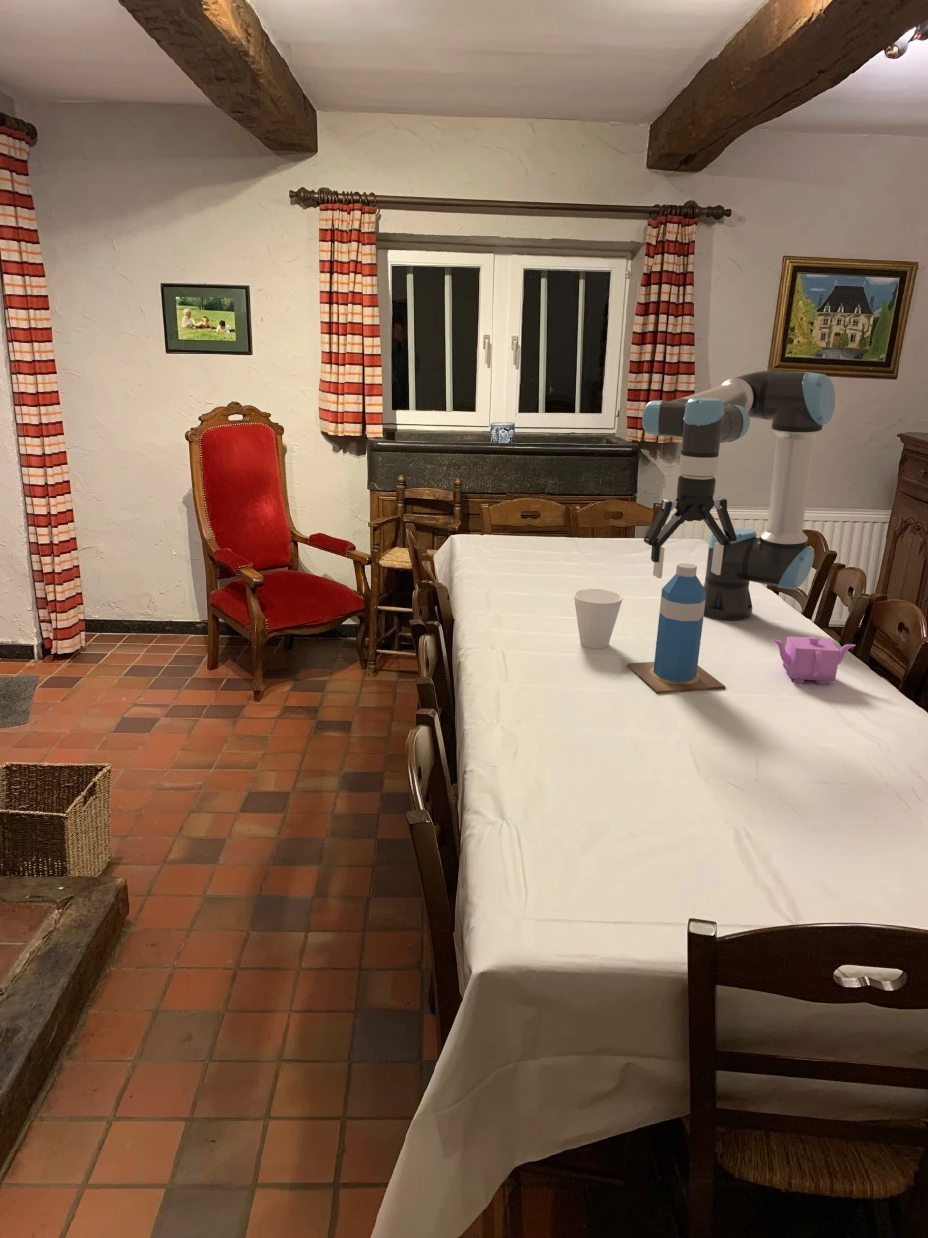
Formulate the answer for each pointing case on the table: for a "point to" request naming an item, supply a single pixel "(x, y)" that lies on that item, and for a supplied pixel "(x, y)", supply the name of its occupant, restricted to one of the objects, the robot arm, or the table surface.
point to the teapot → (811, 658)
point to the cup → (596, 616)
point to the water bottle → (680, 626)
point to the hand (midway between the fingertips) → (686, 575)
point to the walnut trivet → (665, 686)
